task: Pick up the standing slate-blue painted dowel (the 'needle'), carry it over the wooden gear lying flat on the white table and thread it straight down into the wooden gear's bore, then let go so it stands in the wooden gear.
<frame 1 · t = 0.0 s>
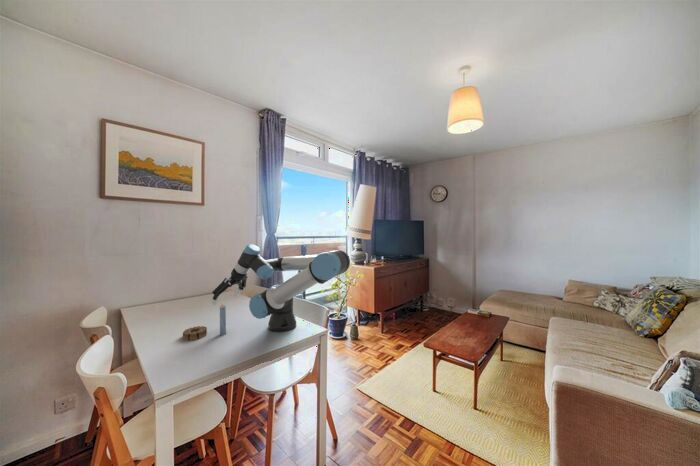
hand: (223, 300, 136), 15 cm above the table, tool tilted 35°, fingers open, 13 cm apart
wooden gear: (195, 336, 125), on the table
dowel: (222, 334, 127), on the table
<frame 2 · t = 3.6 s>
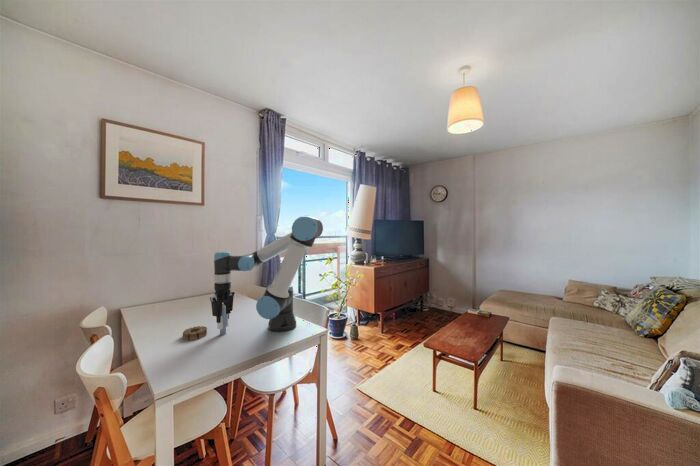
hand: (222, 327, 127), 4 cm above the table, tool pointing down, fingers closed on dowel, 3 cm apart
dowel: (223, 334, 127), on the table, touching gripper
when the fingers open (4 cm above the table, at t = 8.7 s): dowel stays where it is, resting in wooden gear.
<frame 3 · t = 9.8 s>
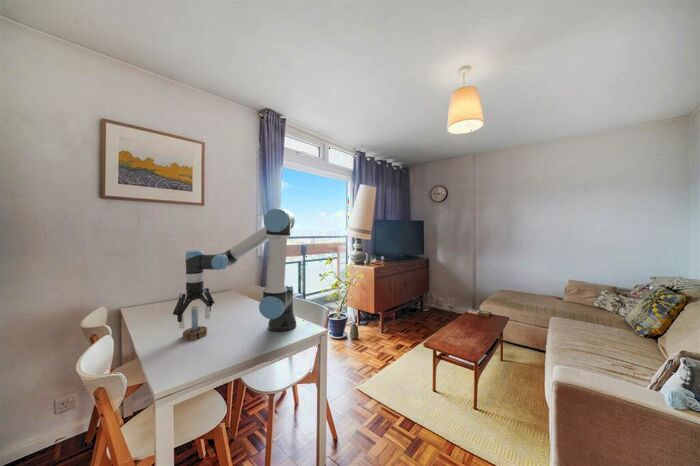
hand: (195, 323, 125), 7 cm above the table, tool pointing down, fingers open, 13 cm apart
dowel: (195, 336, 125), resting in wooden gear
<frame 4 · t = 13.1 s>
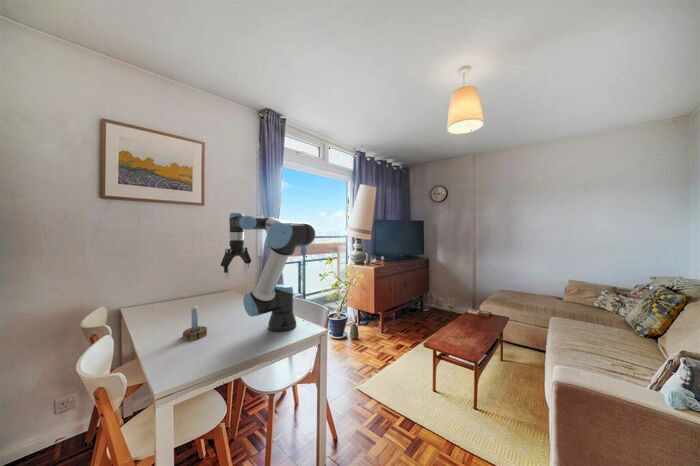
hand: (237, 276, 143), 27 cm above the table, tool pointing down, fingers open, 13 cm apart
nothing on the table moved.
at the end: dowel 0.1 cm from the wooden gear (horizontally); dowel resting in wooden gear; dowel tilted 0° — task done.
